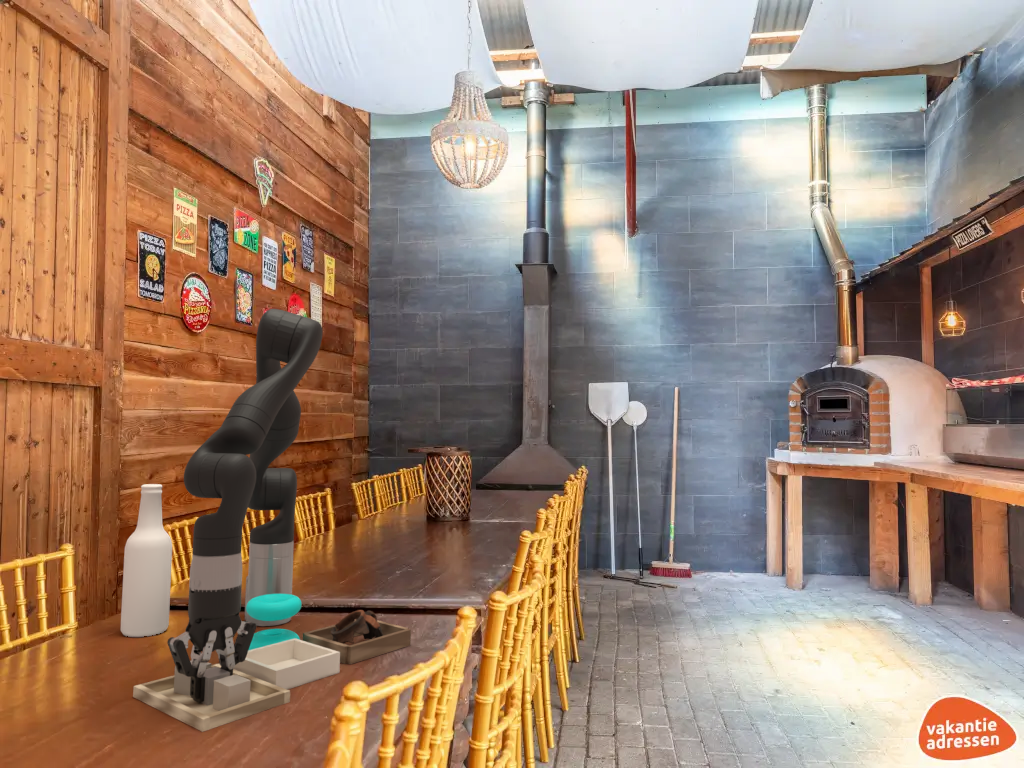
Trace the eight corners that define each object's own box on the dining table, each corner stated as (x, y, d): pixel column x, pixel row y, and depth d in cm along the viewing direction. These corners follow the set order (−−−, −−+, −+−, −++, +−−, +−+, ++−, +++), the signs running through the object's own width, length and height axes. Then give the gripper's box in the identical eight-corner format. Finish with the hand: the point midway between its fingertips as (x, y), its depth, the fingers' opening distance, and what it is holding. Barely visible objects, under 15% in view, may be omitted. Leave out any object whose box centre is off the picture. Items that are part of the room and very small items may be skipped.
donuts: (305, 601, 133) (247, 606, 129) (303, 656, 132) (245, 662, 128) (298, 590, 142) (245, 594, 138) (296, 641, 141) (242, 647, 137)
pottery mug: (383, 660, 132) (361, 623, 131) (340, 679, 134) (318, 643, 133) (397, 626, 144) (378, 592, 143) (357, 644, 145) (337, 610, 144)
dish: (230, 679, 120) (231, 654, 120) (294, 660, 130) (295, 638, 130) (275, 697, 112) (276, 670, 112) (339, 675, 122) (340, 652, 122)
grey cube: (193, 699, 109) (194, 672, 109) (214, 692, 112) (215, 666, 112) (207, 705, 106) (208, 678, 107) (228, 699, 109) (230, 672, 109)
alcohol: (126, 640, 140) (134, 486, 142) (115, 630, 147) (123, 484, 149) (174, 632, 146) (180, 485, 148) (161, 623, 153) (168, 482, 155)
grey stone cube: (173, 692, 111) (174, 666, 112) (191, 685, 115) (192, 659, 115) (193, 696, 110) (194, 669, 110) (210, 689, 113) (211, 663, 113)
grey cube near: (212, 708, 106) (213, 680, 106) (234, 701, 108) (235, 674, 109) (227, 715, 103) (228, 686, 103) (249, 707, 106) (250, 680, 106)
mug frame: (300, 649, 136) (300, 633, 136) (364, 631, 149) (364, 617, 149) (348, 665, 128) (348, 647, 128) (412, 644, 140) (412, 629, 141)
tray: (132, 700, 109) (133, 686, 110) (217, 676, 121) (218, 663, 121) (202, 735, 97) (203, 719, 98) (289, 705, 108) (290, 690, 109)
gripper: (243, 572, 118) (239, 679, 117) (158, 586, 107) (152, 704, 106) (270, 579, 114) (266, 690, 112) (184, 594, 102) (178, 717, 101)
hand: (211, 696), depth 109 cm, fingers closed on grey cube, 3 cm apart
